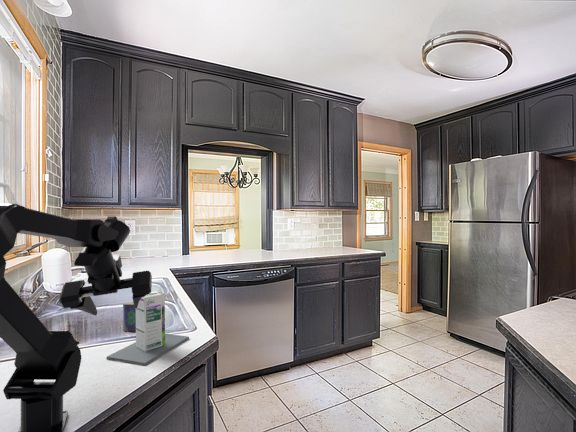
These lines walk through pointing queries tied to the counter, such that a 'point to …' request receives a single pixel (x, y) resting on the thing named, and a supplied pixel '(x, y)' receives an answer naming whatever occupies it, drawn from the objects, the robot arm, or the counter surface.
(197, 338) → the counter surface
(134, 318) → the flask
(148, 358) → the slate mat
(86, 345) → the counter surface
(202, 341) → the counter surface
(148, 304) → the syrup box
